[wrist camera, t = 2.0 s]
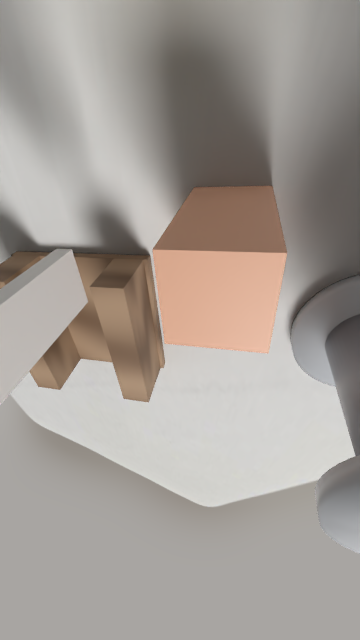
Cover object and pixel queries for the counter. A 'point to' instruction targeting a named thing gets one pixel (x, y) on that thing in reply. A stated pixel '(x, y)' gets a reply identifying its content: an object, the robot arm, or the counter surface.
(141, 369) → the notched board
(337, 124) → the counter surface
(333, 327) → the bobbin
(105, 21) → the counter surface
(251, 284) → the peach rectangular block
